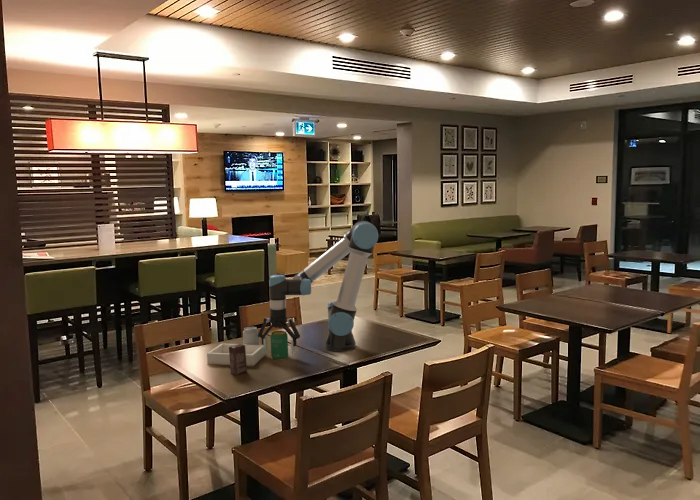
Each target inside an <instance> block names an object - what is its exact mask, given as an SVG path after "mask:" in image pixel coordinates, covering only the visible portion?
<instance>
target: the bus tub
mask: <svg viewBox="0 0 700 500" xmlns="http://www.w3.org/2000/svg"><path fill="white" fill-rule="evenodd" d="M237 344H238V343H220V344H219V345H217V346H216V347H214V348H213V349H211V350H209V351H208V352H207V353H206V358H207V362H206V363H207V365H208V364H209V365H221V366H222V365H223V366H224V365H225V366H230V356H229V347H230V346H234V345H237ZM242 344H243V343H242ZM243 345H245V351H246V366H248V367H254V366H256V364H257V363H259V362H260V361H261V359H263V358H264V357H265V356H266V352H264V345H262V344H259V345H247V344H243Z"/></svg>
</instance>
